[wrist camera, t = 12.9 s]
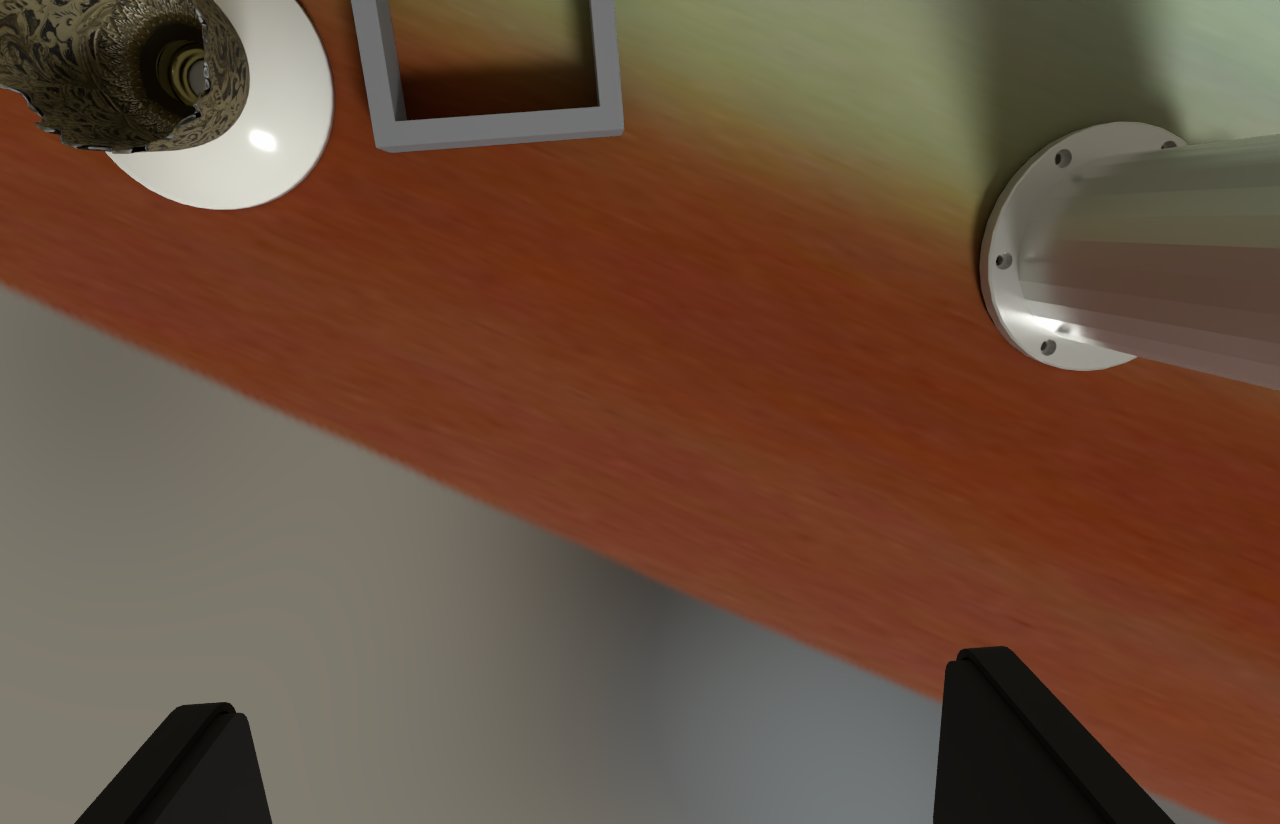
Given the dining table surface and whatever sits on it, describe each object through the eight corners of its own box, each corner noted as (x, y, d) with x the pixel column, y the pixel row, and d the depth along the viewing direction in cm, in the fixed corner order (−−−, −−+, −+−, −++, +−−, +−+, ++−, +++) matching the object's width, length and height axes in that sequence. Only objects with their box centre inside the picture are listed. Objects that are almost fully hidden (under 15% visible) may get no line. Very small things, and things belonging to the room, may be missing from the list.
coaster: (308, -61, 31) (301, -69, 30) (355, 200, 34) (350, 199, 33) (47, -46, 30) (33, -54, 29) (118, 218, 33) (107, 218, 32)
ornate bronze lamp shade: (81, 48, 30) (-88, -10, 23) (217, -50, 30) (91, -144, 22) (200, 200, 32) (82, 194, 25) (330, 111, 32) (250, 76, 24)
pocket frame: (599, -130, 31) (601, -160, 29) (621, 135, 34) (624, 128, 32) (346, -117, 30) (326, -146, 28) (390, 152, 33) (376, 147, 31)
